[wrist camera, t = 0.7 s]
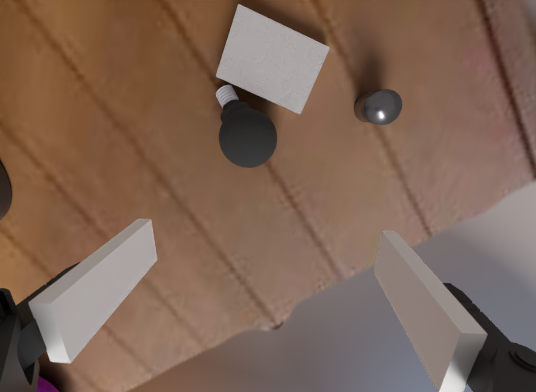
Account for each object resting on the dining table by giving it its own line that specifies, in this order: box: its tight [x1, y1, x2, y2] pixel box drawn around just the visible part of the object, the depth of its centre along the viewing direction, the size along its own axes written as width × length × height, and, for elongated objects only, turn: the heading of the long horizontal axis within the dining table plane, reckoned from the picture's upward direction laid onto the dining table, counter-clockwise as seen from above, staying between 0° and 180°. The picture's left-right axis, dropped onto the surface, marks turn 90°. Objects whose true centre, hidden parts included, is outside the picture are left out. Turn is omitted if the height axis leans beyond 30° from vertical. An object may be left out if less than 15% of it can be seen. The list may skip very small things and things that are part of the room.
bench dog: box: [354, 90, 402, 125], centre depth 26 cm, size 3×3×5 cm
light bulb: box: [216, 85, 277, 168], centre depth 28 cm, size 6×6×10 cm
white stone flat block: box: [216, 4, 330, 114], centre depth 27 cm, size 10×7×2 cm
